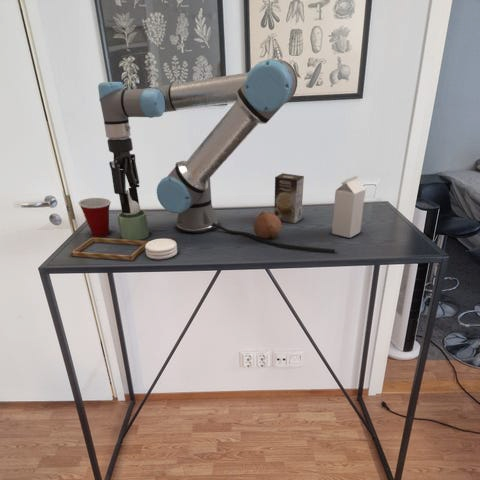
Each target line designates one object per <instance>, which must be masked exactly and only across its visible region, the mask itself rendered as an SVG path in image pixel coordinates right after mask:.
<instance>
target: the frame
mask: <svg viewBox="0 0 480 480" xmlns="http://www.w3.org/2000/svg"><path fill="white" fill-rule="evenodd" d="M148 242H149V240H124V239H122V238H108V237H107V238H106V237H91V238H89V239H88V240H87V241H85V242H84V243H82V244H81V245H79V246H77V247H76V248H74V249H73V250H72V251H70V255H71V256H72V257H78V258H79V257H80V258H93V259H108V260H119V261H133V260H134V259H135V258H137V256H139V255H140V254H141V253H142V252H143V251H145V250H146V249H145V245H146V244H147V243H148ZM93 243H105V244H120V245H133V246H134V245H135V246H139V247H138V248H137V249H136V250H135V251H134V252H132V253H131V254H130V255H128V254H126V255H125V254H113V253H100V252H99V253H98V252H85V251H83V250H85V249H86V248H88V247H89V246H90V245H92V244H93Z"/></svg>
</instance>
